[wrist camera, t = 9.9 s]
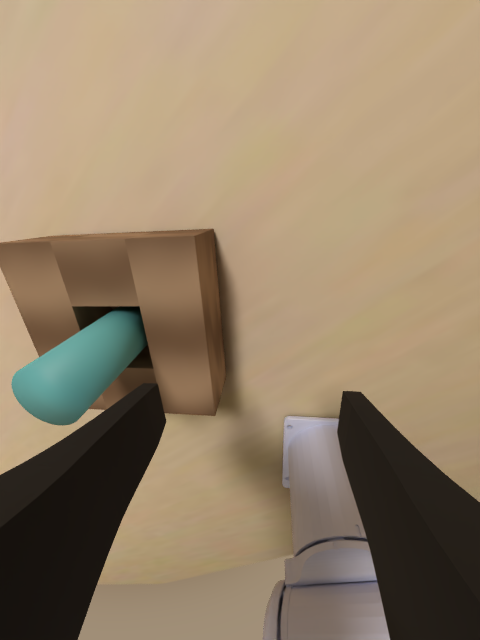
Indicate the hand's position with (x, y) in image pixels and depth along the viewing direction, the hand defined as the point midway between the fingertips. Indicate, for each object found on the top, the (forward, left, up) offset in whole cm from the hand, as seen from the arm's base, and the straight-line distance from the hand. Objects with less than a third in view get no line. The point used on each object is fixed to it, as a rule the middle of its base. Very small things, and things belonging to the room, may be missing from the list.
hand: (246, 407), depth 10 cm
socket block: (0, +9, -10) cm, 13 cm away
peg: (0, +9, -9) cm, 12 cm away
